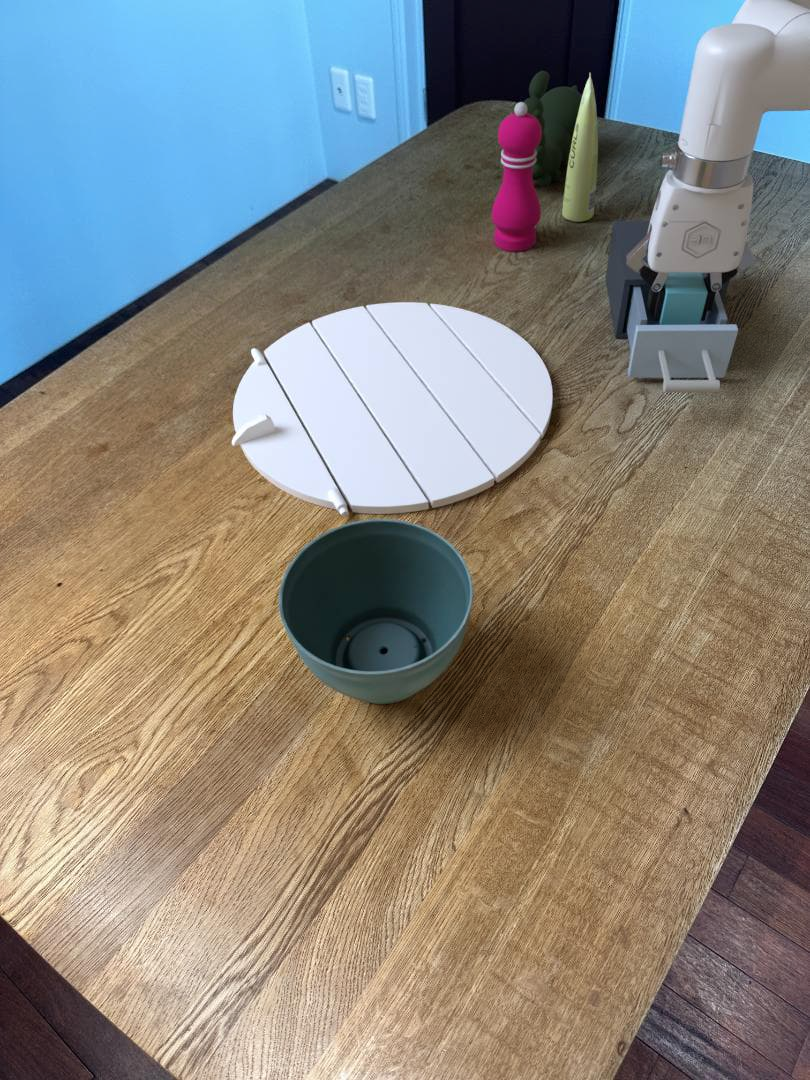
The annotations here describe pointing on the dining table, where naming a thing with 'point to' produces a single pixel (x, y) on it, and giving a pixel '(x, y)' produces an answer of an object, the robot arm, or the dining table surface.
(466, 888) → the dining table surface
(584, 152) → the tube
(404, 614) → the flower pot
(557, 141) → the toy figurine
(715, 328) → the drawer
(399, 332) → the lazy susan
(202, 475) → the dining table surface
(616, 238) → the dark grey cabinet
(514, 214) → the pepper mill
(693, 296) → the teal cube
